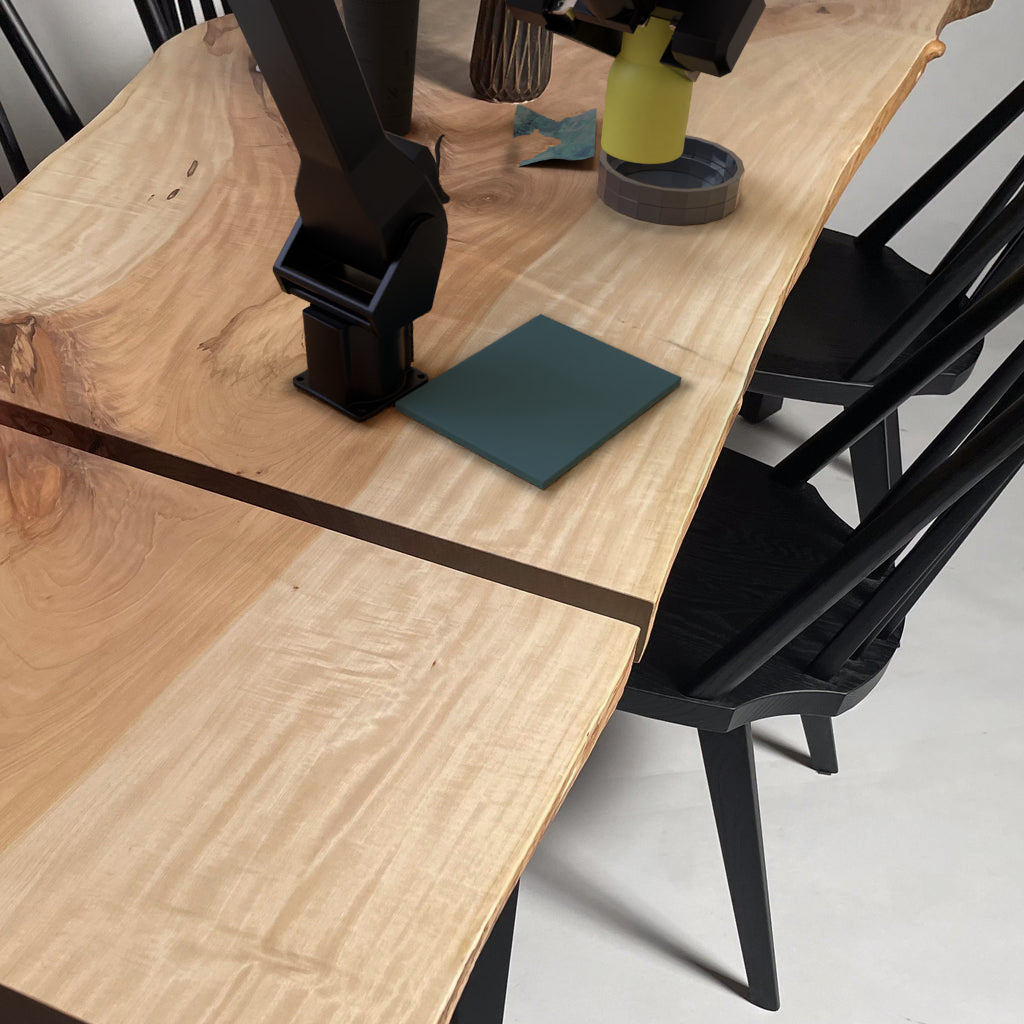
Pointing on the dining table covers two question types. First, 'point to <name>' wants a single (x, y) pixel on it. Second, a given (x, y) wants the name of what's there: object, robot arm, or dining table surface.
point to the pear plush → (645, 100)
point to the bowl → (674, 185)
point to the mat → (539, 398)
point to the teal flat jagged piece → (558, 134)
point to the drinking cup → (386, 55)
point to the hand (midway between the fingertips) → (661, 66)
